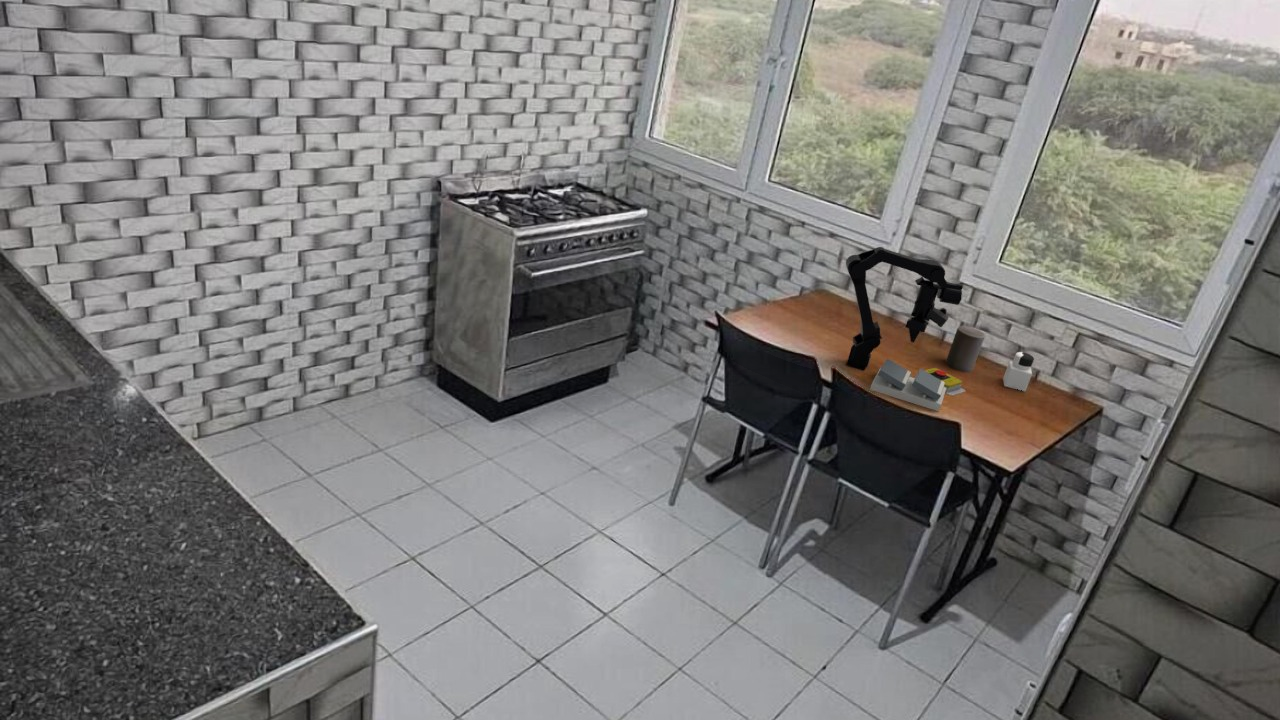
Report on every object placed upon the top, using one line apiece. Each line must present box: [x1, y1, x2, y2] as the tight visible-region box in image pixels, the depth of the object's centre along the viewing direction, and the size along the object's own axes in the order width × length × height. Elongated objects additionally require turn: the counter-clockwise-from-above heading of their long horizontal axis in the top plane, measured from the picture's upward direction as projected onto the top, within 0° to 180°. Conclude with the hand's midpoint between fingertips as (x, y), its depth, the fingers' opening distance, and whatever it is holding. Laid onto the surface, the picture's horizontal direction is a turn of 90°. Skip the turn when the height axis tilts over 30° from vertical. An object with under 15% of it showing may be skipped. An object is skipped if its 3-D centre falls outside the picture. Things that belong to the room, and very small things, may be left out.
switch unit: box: [869, 367, 946, 412], centre depth 274 cm, size 22×15×4 cm
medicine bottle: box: [1002, 351, 1035, 392], centre depth 292 cm, size 7×7×12 cm
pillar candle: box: [945, 325, 986, 373], centre depth 300 cm, size 10×10×15 cm
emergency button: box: [914, 367, 966, 397], centre depth 284 cm, size 9×4×15 cm
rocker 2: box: [912, 368, 945, 401], centre depth 270 cm, size 9×12×2 cm
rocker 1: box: [877, 357, 912, 390], centre depth 273 cm, size 9×12×2 cm
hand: (912, 341), depth 283 cm, fingers closed
